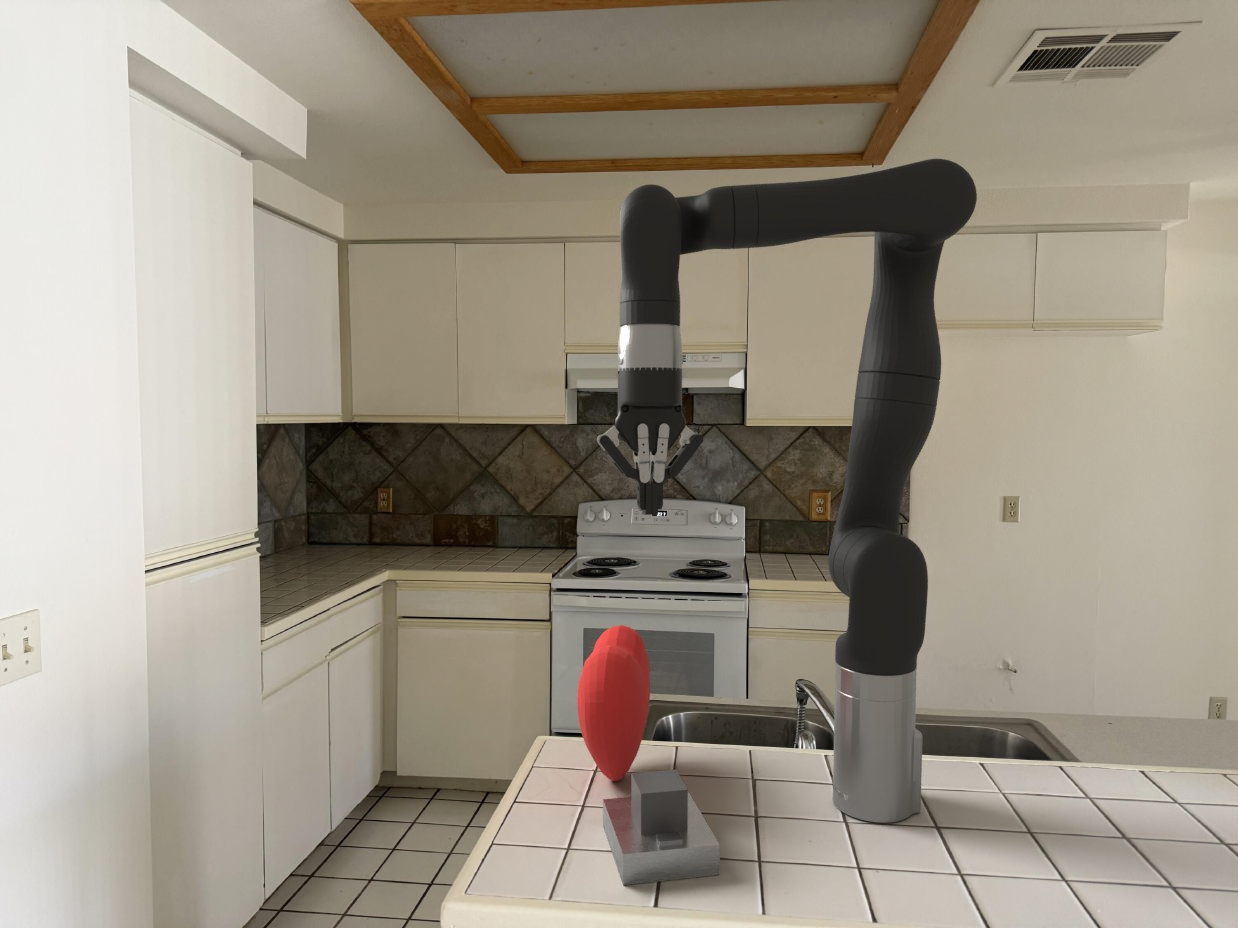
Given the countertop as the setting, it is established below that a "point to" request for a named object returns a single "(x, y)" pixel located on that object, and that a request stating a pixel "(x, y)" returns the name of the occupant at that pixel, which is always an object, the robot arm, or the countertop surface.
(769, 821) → the countertop surface
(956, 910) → the countertop surface
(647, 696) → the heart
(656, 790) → the plug
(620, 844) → the socket plate
